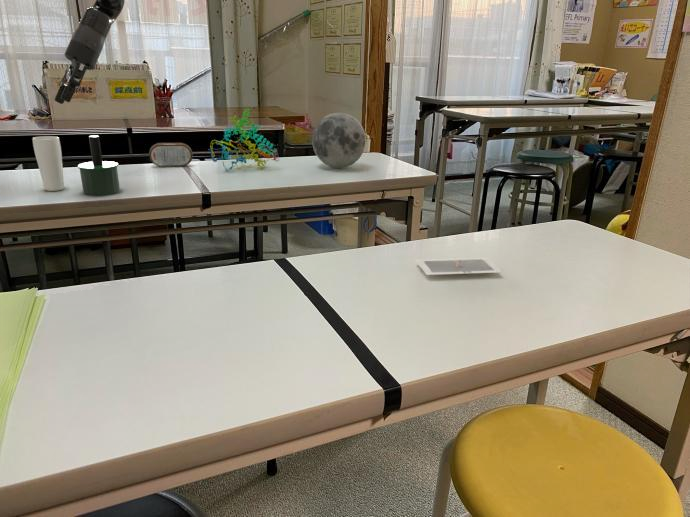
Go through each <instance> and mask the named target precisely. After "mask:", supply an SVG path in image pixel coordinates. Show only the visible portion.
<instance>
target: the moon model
mask: <svg viewBox="0 0 690 517" xmlns="http://www.w3.org/2000/svg"><path fill="white" fill-rule="evenodd" d="M366 137H367V136H366V132H365V130H364V128H363V125H362V124H361V123H360V121H359V120H358V119H357V118H356V117H354V116H352V115H351V114H348V113H344V112H334V113H330V114H328V115H326V116H324V117H323V118H321V119H320V120H319V121H318V122H317V124H316V125H315V127H314V129H313V132H312V135H311V139H312V140H311V142H312V148H313V152H314V153H315V156H316V157H317V158H318V160H320V161H321V162H322V163H323V164H324V165H326V166H328V167H331V168H337V169H342V168H347V167H349V166H352V165H354V164H355V163H356V162H358V161H359V160H360V159H361V157H362V155H363V154H364V151H365V149H366V144H367V138H366Z"/></svg>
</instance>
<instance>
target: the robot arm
mask: <svg viewBox="0 0 690 517" xmlns="http://www.w3.org/2000/svg"><path fill="white" fill-rule="evenodd" d="M125 1H126V0H95V1H94V3H93V4H92V6H90V7H87V8H86V9H85V10H84V12H83V14H82V16H81V18H80V21H79V23H78V25H77V27H76V28H75V30H74V32H73V34H72V36H71V38H70V40H69V43H68V45H67V47H66V49H65V52H64V57H65V58H66V59H67V60H69V61H70V62H71V63H70V64H68V65H66V66H65V69H64V73H63V74H62V76H61V79H60V81H59V82H58V90H57V92H56V95H55V97H54V101H55V102H56V103H58V104H60V105H62V104H64V103H65V102H66V103H70V102H71V101H72V98H73V96H74V94H75V92H76V90H78V88H79V87H80V86H81V84H82V81H83V78H84V76H85V74H86V72H87V70H88V71H93V70H94V69H95V68H96V65H97V62H98V61H99V58H100V57H101V53H102V51H103V49H104V46H105V42H106V40H107V37H108V35H109V32H110V30H111V28H112V25H113V24H114V23H115V21H116V20H117V19H118V17H119V16H120V14H121V13H122V11H123V9H124V6H125V3H126V2H125Z"/></svg>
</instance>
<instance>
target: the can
mask: <svg viewBox="0 0 690 517" xmlns="http://www.w3.org/2000/svg"><path fill="white" fill-rule="evenodd" d="M79 174H80V181H81V187H82V192H83V195H86V196H90V197H105V196H112V195H116V194H118V193H120V191H121V187H120V180H119V173H118V166H117V167H115V168H111V169H104V170H83V169H79Z"/></svg>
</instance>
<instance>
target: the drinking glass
mask: <svg viewBox="0 0 690 517" xmlns="http://www.w3.org/2000/svg"><path fill="white" fill-rule="evenodd" d="M31 140H32V147H33V151H34V155H35V159H36V163H37V166H38V169H39V170H38V171H39V173H40V176H41V180H42V184H43V189H44V190H45V191H47V192H57V191H62V190H64V189H65V180H64V168H63V154H62V145H61V141H60V137H58V136H54V135H52V136H51V135H43V136H34V137H32V138H31Z"/></svg>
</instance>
